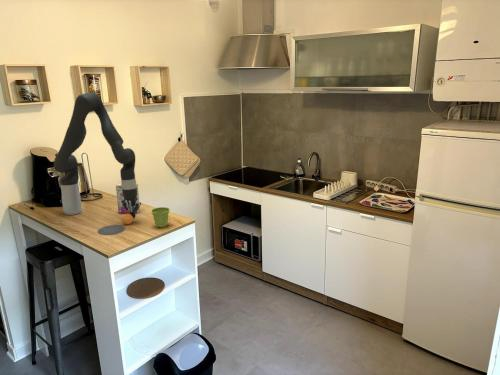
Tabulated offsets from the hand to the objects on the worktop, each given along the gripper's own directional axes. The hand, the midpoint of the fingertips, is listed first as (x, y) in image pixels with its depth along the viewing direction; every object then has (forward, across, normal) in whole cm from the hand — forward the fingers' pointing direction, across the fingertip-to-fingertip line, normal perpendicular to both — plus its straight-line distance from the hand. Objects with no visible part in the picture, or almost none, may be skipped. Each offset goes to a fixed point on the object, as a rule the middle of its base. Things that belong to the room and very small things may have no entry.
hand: (132, 218), depth 202 cm
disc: (+2, -1, -14) cm, 14 cm away
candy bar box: (+2, -14, +10) cm, 17 cm away
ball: (-1, 0, -4) cm, 4 cm away
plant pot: (+2, +18, +3) cm, 18 cm away
